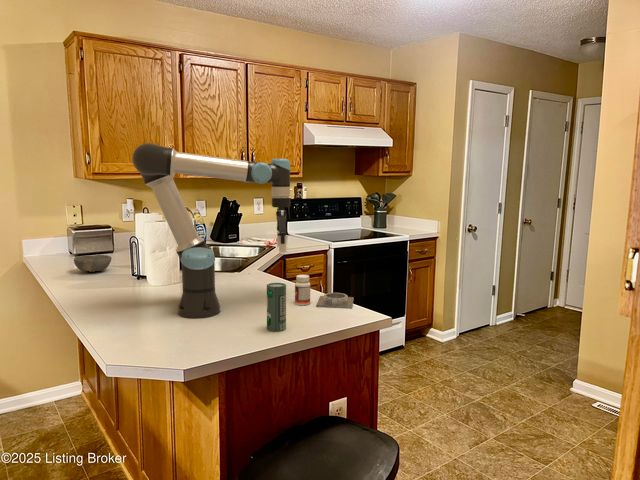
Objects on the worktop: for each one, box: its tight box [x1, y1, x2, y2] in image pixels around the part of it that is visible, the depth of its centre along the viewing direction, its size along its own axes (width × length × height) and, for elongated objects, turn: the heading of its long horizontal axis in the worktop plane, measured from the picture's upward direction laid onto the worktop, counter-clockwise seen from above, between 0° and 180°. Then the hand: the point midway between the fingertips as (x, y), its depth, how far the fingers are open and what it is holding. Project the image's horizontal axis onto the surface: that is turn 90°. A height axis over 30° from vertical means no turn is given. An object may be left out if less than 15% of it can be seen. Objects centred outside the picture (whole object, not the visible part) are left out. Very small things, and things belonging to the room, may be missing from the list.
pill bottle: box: [294, 274, 311, 306], centre depth 187 cm, size 6×6×11 cm
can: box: [266, 282, 287, 333], centre depth 156 cm, size 6×6×15 cm
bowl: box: [73, 254, 112, 273], centre depth 243 cm, size 18×18×8 cm
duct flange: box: [315, 292, 354, 310], centre depth 189 cm, size 14×14×3 cm
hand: (281, 249), depth 193 cm, fingers open, 13 cm apart
